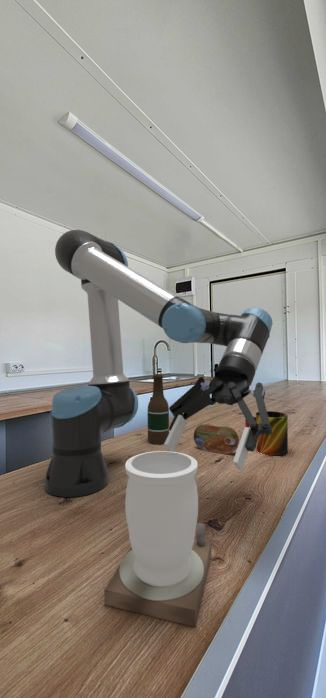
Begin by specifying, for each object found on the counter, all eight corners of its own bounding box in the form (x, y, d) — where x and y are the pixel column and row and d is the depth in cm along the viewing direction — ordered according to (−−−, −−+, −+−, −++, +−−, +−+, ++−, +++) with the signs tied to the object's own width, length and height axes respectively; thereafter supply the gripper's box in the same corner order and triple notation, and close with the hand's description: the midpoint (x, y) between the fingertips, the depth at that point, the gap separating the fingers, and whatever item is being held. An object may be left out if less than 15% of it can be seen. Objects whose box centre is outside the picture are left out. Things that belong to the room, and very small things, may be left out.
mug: (245, 444, 110) (245, 409, 110) (288, 449, 105) (288, 412, 105) (240, 452, 102) (240, 414, 101) (286, 458, 96) (286, 418, 96)
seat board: (104, 604, 42) (104, 566, 42) (141, 541, 55) (141, 512, 55) (195, 626, 38) (195, 585, 38) (211, 554, 52) (211, 523, 52)
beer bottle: (173, 440, 115) (172, 373, 115) (161, 446, 108) (161, 375, 108) (155, 437, 119) (154, 373, 119) (143, 442, 113) (142, 374, 112)
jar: (195, 600, 39) (194, 479, 39) (115, 589, 41) (114, 473, 41) (201, 547, 50) (200, 451, 50) (137, 540, 52) (136, 448, 52)
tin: (193, 448, 106) (192, 423, 106) (197, 445, 109) (197, 421, 109) (236, 456, 98) (236, 429, 98) (240, 453, 100) (240, 427, 100)
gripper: (304, 382, 61) (278, 487, 50) (193, 373, 76) (153, 451, 65) (298, 355, 57) (267, 463, 45) (181, 351, 72) (136, 431, 60)
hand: (200, 456), depth 55 cm, fingers open, 13 cm apart
